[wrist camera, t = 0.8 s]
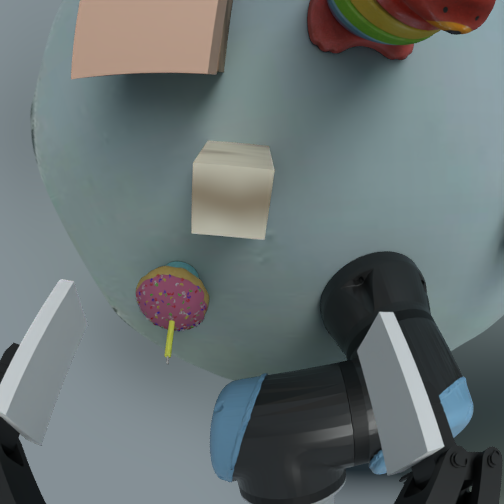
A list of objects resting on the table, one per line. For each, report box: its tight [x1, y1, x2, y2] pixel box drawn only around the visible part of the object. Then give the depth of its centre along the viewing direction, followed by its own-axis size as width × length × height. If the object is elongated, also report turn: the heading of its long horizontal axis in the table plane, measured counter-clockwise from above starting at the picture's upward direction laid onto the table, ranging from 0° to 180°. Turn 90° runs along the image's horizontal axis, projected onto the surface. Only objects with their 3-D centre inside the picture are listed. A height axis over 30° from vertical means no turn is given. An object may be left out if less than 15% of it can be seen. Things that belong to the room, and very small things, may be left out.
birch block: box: [192, 141, 275, 240], centre depth 26 cm, size 6×6×8 cm
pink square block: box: [71, 0, 227, 79], centre depth 15 cm, size 10×10×5 cm
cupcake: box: [136, 261, 209, 364], centre depth 32 cm, size 9×8×12 cm
